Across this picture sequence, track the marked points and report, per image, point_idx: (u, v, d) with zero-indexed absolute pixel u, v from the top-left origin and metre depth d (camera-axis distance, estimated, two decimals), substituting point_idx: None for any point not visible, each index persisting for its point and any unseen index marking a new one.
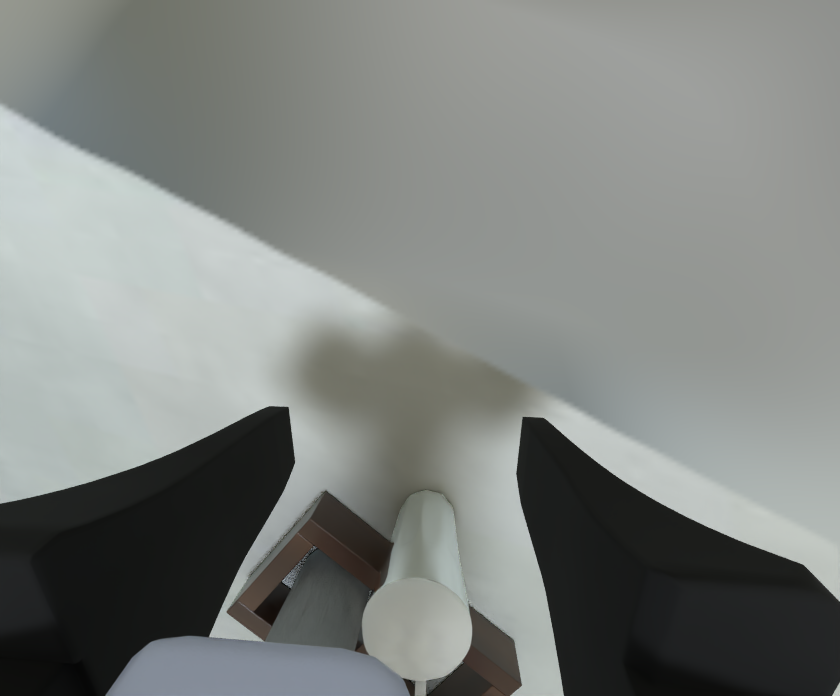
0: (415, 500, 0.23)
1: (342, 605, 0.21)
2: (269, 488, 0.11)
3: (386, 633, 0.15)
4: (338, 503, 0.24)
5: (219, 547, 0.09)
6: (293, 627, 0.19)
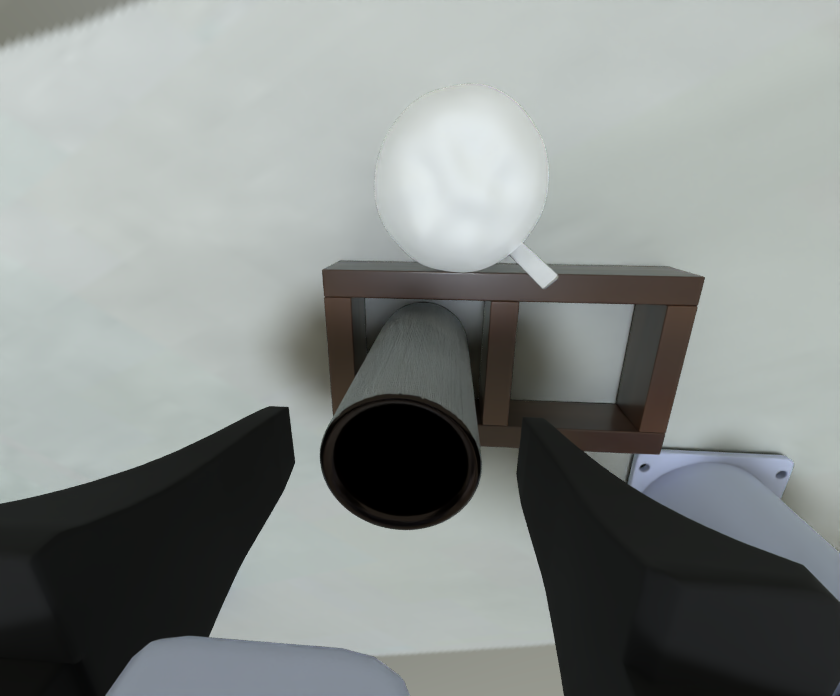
0: None
1: (418, 324, 0.16)
2: (269, 488, 0.11)
3: (406, 188, 0.10)
4: (359, 261, 0.19)
5: (219, 547, 0.09)
6: (366, 359, 0.14)
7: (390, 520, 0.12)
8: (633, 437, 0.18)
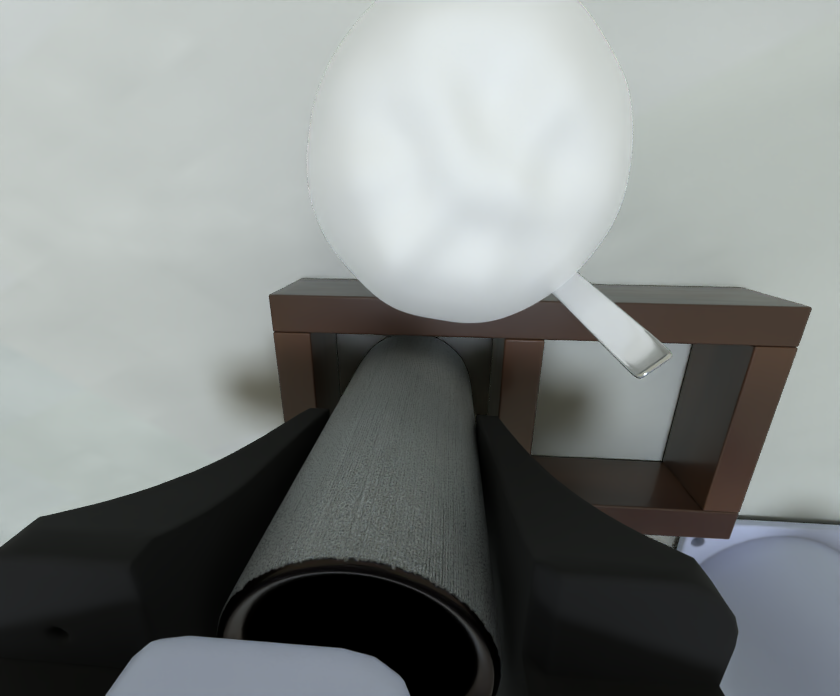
0: None
1: (402, 374, 0.11)
2: None
3: (359, 172, 0.05)
4: (326, 279, 0.14)
5: None
6: (322, 434, 0.10)
7: None
8: (694, 517, 0.14)
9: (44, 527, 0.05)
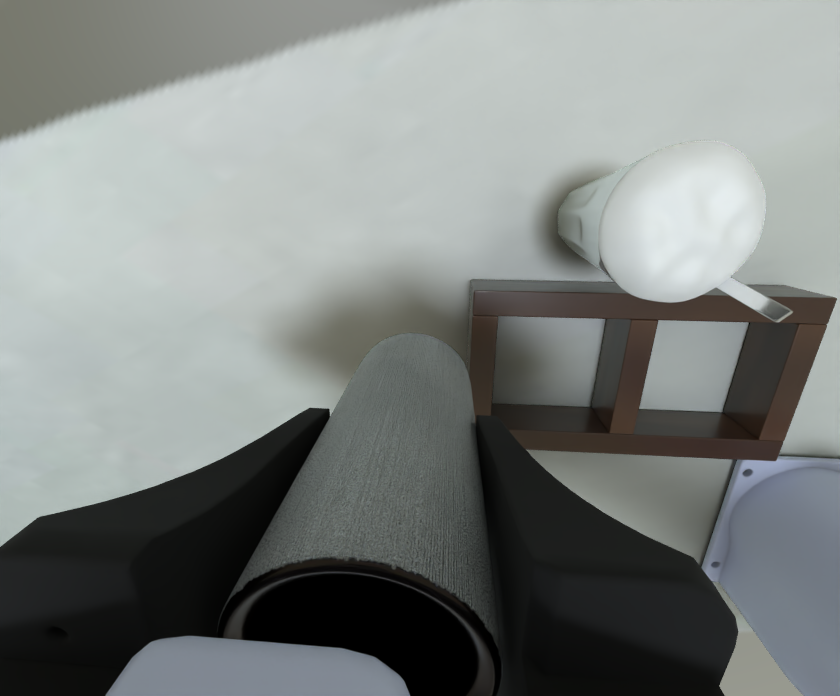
0: (567, 201, 0.18)
1: (402, 374, 0.11)
2: None
3: (648, 233, 0.11)
4: (491, 280, 0.20)
5: None
6: (322, 434, 0.10)
7: None
8: (752, 445, 0.20)
9: (44, 527, 0.05)
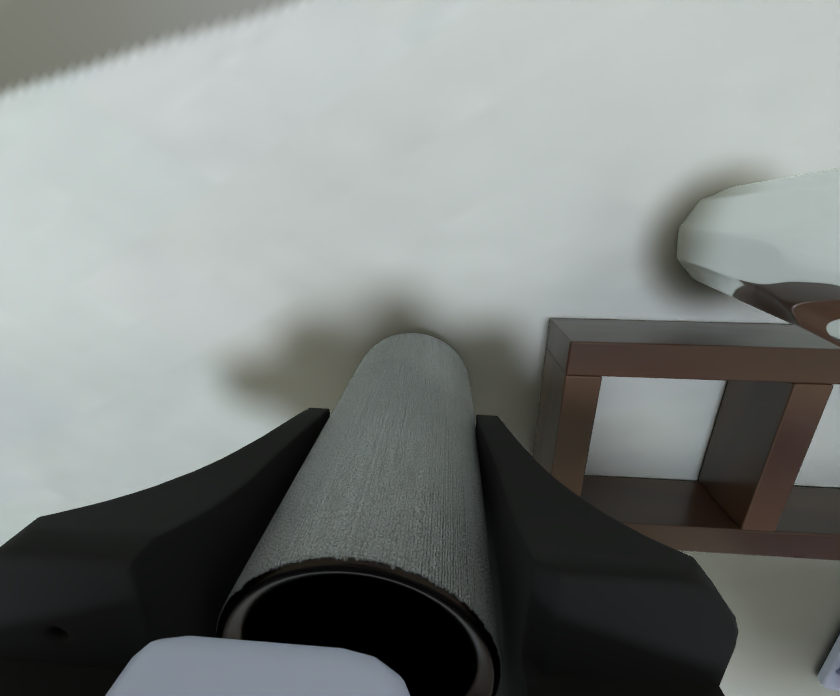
0: (703, 215, 0.13)
1: (402, 374, 0.11)
2: None
3: None
4: (579, 320, 0.15)
5: None
6: (321, 434, 0.10)
7: None
8: None
9: (44, 527, 0.05)
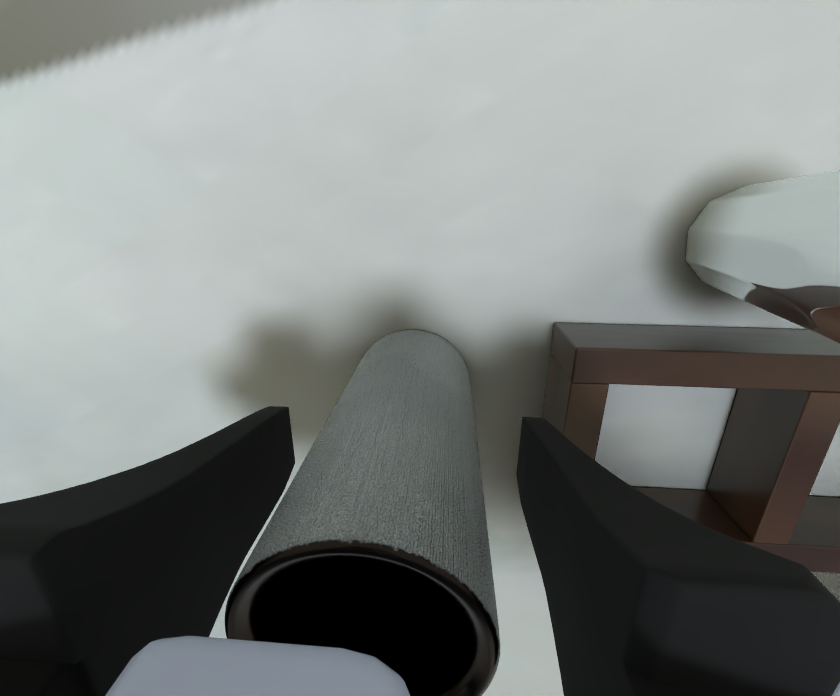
0: (715, 216, 0.12)
1: (403, 369, 0.11)
2: (269, 488, 0.11)
3: None
4: (584, 324, 0.14)
5: (219, 547, 0.09)
6: (325, 427, 0.10)
7: None
8: None
9: None
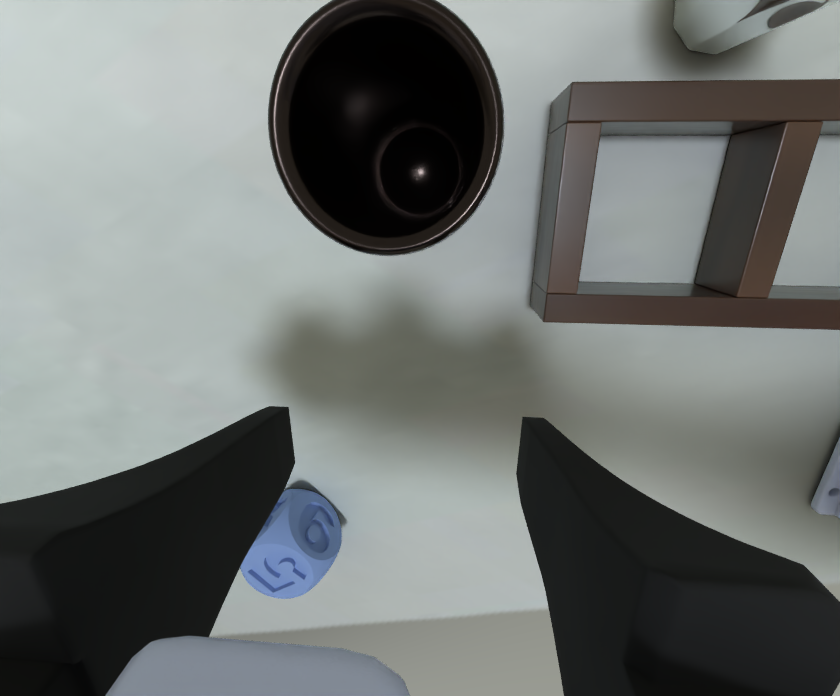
0: None
1: None
2: (269, 488, 0.11)
3: None
4: None
5: (219, 547, 0.09)
6: None
7: (372, 239, 0.08)
8: None
9: None
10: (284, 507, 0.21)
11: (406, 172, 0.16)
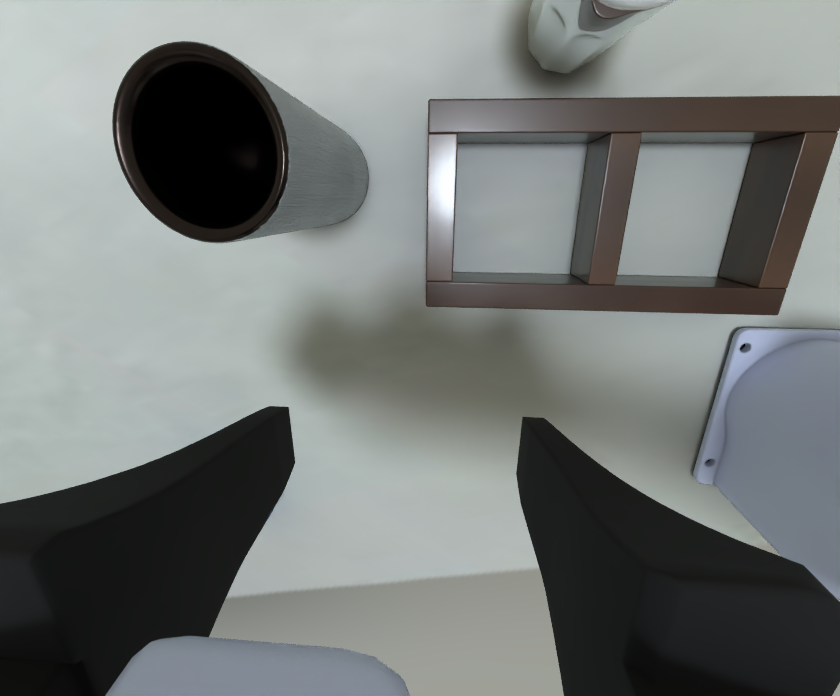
0: None
1: None
2: (269, 488, 0.11)
3: None
4: None
5: (219, 547, 0.09)
6: None
7: (203, 230, 0.11)
8: (751, 294, 0.17)
9: None
10: None
11: None
